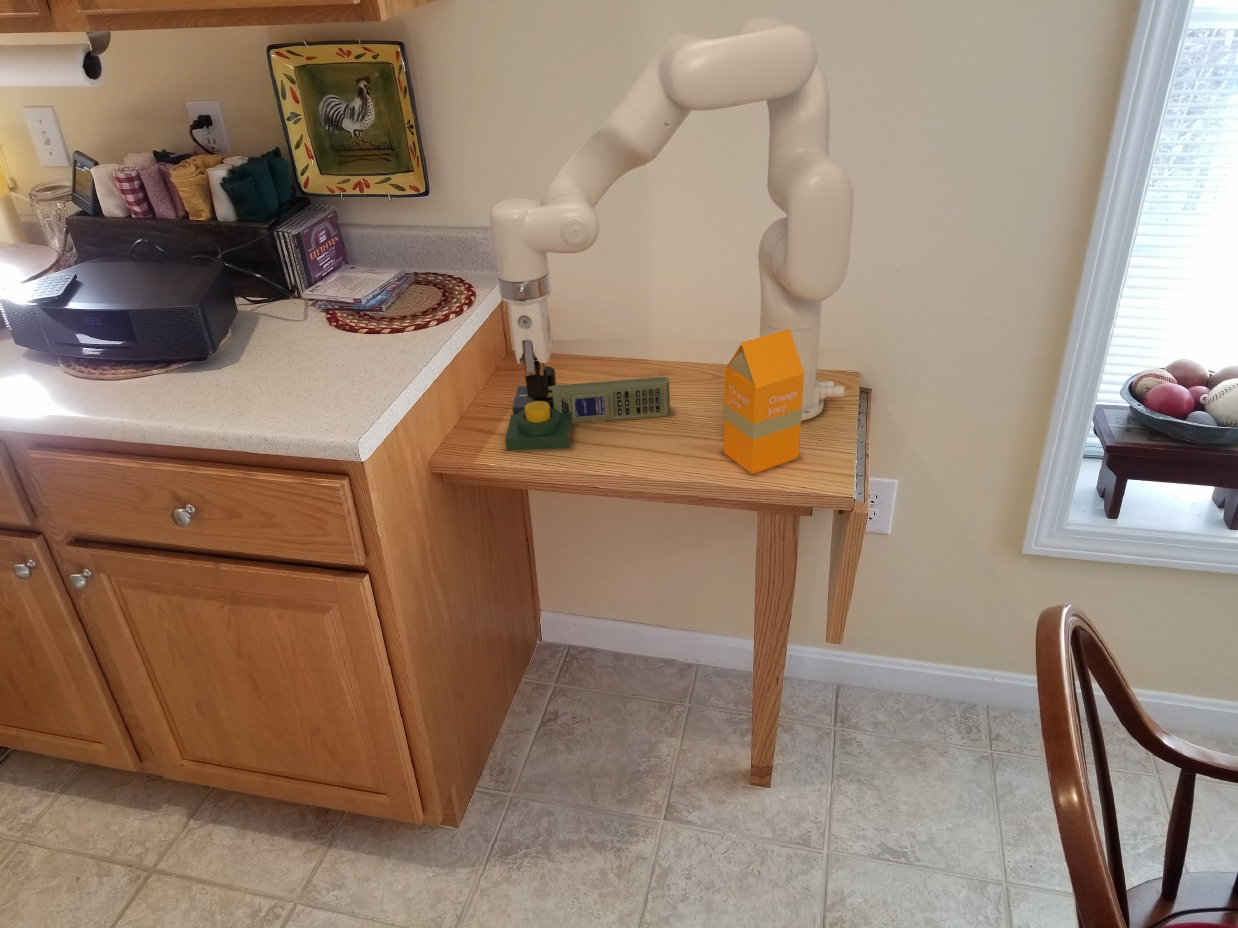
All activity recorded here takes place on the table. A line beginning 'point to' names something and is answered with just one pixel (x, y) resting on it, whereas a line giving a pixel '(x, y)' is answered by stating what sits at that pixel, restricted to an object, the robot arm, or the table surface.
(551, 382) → the knob
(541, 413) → the yellow push button
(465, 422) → the table surface
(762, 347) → the orange juice
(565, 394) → the handheld radio
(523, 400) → the nozzle panel
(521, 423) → the green button base
